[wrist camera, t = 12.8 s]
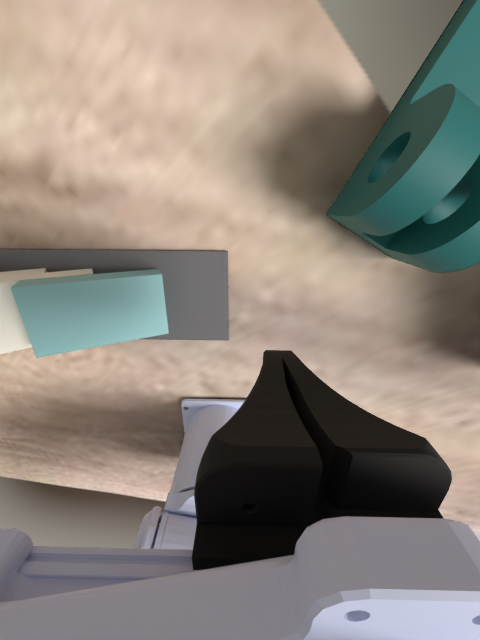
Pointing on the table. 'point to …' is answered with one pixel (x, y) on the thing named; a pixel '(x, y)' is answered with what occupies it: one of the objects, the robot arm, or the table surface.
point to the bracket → (426, 161)
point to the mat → (177, 273)
